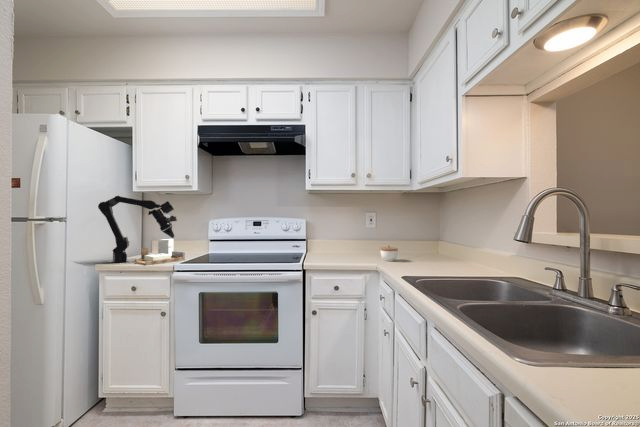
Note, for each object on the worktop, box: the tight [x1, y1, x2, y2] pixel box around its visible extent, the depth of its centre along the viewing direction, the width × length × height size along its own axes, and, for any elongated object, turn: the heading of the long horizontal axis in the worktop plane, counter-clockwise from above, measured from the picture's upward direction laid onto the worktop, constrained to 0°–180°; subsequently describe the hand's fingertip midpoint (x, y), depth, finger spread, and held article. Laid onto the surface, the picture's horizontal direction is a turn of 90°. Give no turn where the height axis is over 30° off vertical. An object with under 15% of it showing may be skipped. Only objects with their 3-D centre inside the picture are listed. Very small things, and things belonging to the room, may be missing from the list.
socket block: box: [144, 253, 171, 261], centre depth 192 cm, size 11×11×3 cm
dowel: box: [140, 247, 149, 259], centre depth 200 cm, size 4×4×8 cm
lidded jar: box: [379, 245, 399, 262], centre depth 193 cm, size 11×11×9 cm
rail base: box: [135, 250, 186, 266], centre depth 194 cm, size 24×14×5 cm, turn 144°
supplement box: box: [157, 238, 174, 256], centre depth 214 cm, size 7×7×13 cm
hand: (173, 237), depth 205 cm, fingers open, 9 cm apart
